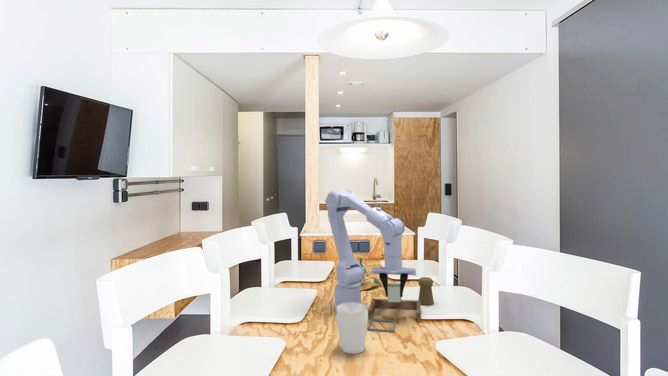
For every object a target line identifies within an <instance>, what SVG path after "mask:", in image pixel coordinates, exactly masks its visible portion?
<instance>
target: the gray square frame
mask: <svg viewBox="0 0 668 376" xmlns="http://www.w3.org/2000/svg"><path fill="white" fill-rule="evenodd" d="M373 322H376V323H377V322H378V323H391V324H392V323H393V324H392V329H386V328H385V329H384V328H371V326H372V324H373ZM396 323H397V321H396V319H378V318H377V319H376V318H372V319H369V323H368V324H367V331H366V332H379V333H395V330H396Z"/></svg>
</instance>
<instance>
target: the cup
mask: <svg viewBox="0 0 668 376" xmlns="http://www.w3.org/2000/svg"><path fill="white" fill-rule="evenodd" d="M335 318H336V324H337V331H338V336H339V337H338V338H339V343H340V348H341V351H342V352H343V353H346V354H351V355H355V354H359V353H362V352H364V350H365V348H366V339H367V338H366V337H367V332H368V331H367V329H368V321H369V319H368V306H367V305H366V304H365V303H362V302H361V303H357V302H347V303H342V304H340V305H338V306H337V312H336V316H335Z"/></svg>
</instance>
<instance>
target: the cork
mask: <svg viewBox="0 0 668 376" xmlns="http://www.w3.org/2000/svg"><path fill="white" fill-rule="evenodd" d="M417 283H418V286H419V294H418V299H417V301H420V306H424V307H425V306H426V307H431V306H433V305H434V304H435V302H434V301H435V300H434V295H433V290H432V287H433V284H434V282H433V279H432V278H431V277H429V276H428V277H427V276H422V277H420V278H419V279H418V282H417Z"/></svg>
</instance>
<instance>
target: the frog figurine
mask: <svg viewBox="0 0 668 376" xmlns="http://www.w3.org/2000/svg"><path fill="white" fill-rule="evenodd" d="M359 262H360V265H361V267H362V268H363V270H364V273H365V277H368V276H369V275H368V271H367V269H366V267H365V266H364V265H363V264H362V263H363V257H359ZM365 277H364V279H363V281H362V284H361V291H365V290H369V289H371V288H383V284H382V282H381V281H380V280H379V279H377V278H373V277H372V276H371V277H368V278H367V279H366V278H365ZM370 279H374V280H373V281H370Z"/></svg>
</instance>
